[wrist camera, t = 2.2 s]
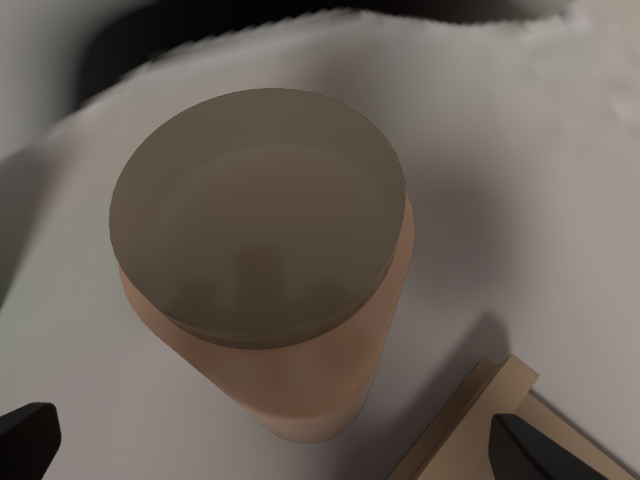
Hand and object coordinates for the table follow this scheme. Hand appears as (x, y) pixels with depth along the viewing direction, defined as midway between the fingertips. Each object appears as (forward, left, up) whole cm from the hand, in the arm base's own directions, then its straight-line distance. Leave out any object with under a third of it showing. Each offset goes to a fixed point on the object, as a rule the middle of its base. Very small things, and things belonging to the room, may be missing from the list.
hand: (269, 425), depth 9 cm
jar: (+2, +2, -10) cm, 11 cm away
